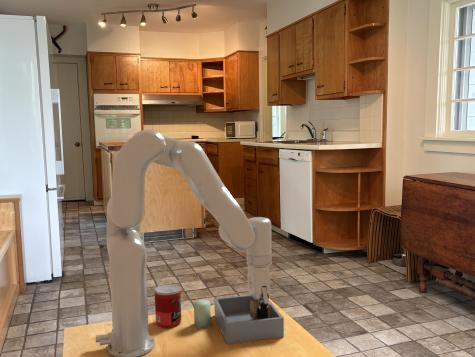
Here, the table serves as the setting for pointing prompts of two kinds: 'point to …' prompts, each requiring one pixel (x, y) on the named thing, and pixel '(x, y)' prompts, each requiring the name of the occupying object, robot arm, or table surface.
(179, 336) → the table surface
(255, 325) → the tote
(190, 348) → the table surface
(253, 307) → the cube
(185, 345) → the table surface
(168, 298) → the canned food
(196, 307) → the cylinder
